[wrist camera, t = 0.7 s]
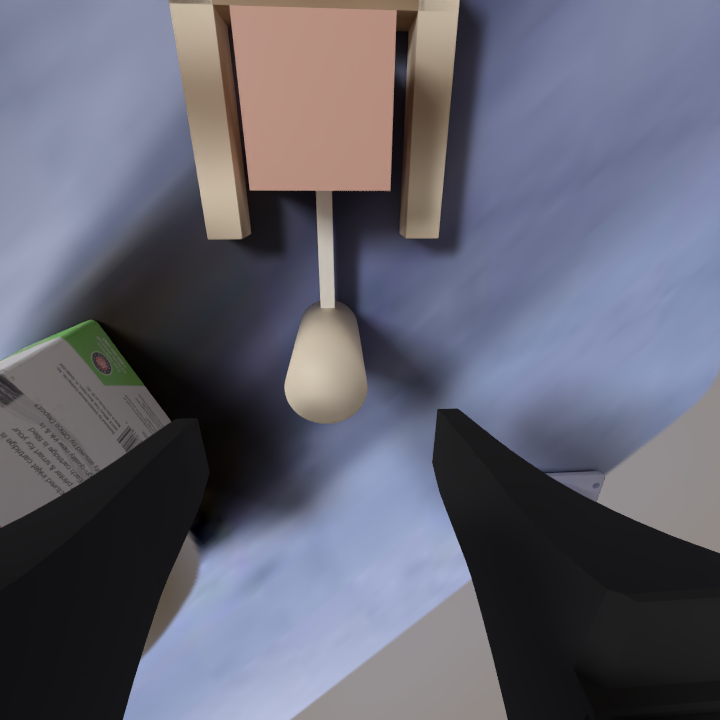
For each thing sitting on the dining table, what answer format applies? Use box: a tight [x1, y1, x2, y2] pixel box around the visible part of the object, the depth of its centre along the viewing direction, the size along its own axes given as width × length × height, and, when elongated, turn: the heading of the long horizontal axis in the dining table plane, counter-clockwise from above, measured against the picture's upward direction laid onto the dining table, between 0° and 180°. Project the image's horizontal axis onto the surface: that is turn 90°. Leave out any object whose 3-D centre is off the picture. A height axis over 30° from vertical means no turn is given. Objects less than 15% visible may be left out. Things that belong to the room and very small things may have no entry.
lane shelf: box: [169, 0, 460, 239], centre depth 16 cm, size 10×10×2 cm
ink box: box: [0, 320, 171, 528], centre depth 16 cm, size 9×5×12 cm, turn 20°
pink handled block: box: [229, 5, 397, 424], centre depth 15 cm, size 14×5×7 cm, turn 0°
